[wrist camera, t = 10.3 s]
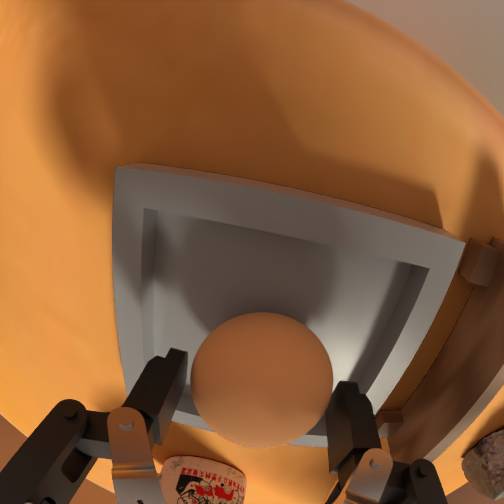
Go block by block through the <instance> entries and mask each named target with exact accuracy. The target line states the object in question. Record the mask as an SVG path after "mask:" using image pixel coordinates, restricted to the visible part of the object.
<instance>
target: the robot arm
mask: <svg viewBox="0 0 504 504" xmlns="http://www.w3.org/2000/svg"><path fill="white" fill-rule="evenodd" d="M187 367H188V352H187V351H183V350H179V349H176V348H172V347H171V348H170V349H169V351H168V353H167V355H166V357H165V358H164V357H161V356H155V357H154V358H152V359H151V360H150V361H148V362H147V364H146V366H145V368H144V369H143V372H142V373H141V374H140V376H139V379H138V380H137V381H136V383H135V385H134V387H133V388H132V390H131V392H130V394H129V396H128V397H127V399H126V401H125V403H124V404H123V405H122V406H121V407H120V408H117V409H114V410H113V411H112V412H106V413H105V412H96V411H89V410H86V408H85V407H84V405H83V404H82V403H80V402H79V401H77V400H73V399H66V400H63V401H60V402H59V403H58V404H57V405H56V406H55V407H54V408H53V409H52V410H51V412H50V413H49V414H48V415H47V416H46V417H45V419H44V420H43V421H42V422H41V423H40V424H39V426H38V427H37V428H36V429H35V430H34V432H33V433H32V434H31V435H30V436H29V437H28V439H27V440H26V441H25V442H24V444H23V445H22V446H21V447H20V448H19V450H18V451H17V452H16V453H15V455H14V456H13V457H12V458H11V460H10V461H9V462H8V463H7V465H6V466H5V467H4V468H3V470H2V471H1V472H0V504H69V502H70V501H71V499H72V498H73V496H74V494H75V493H76V491H77V490H78V488H79V487H80V485H81V484H82V482H83V481H84V479H85V478H86V476H87V474H88V473H89V471H90V470H91V468H92V467H93V465H94V464H95V462H96V461H97V459H98V458H105V459H112V465H113V469H112V480H113V485H114V490H115V495H116V500H117V504H166V503H165V499H164V496H163V493H162V490H161V486H160V483H159V479H158V476H157V472H156V469H155V465H154V461H153V457H152V453H151V452H152V449H153V447H154V444H155V443H156V444H159V445H162V443H163V441H164V438H165V436H166V433H167V431H168V428H169V425H170V423H171V420H172V418H173V415H174V413H175V410H176V407H177V405H178V402H179V400H180V397H181V395H182V392H183V390H184V387H185V384H186V379H187ZM325 418H326V430H327V442H328V457H329V473H338V480H337V481H336V482H335V484H334V485H333V487H332V489H331V490H330V492H329V494H328V495H327V497H326V498H325V500H324V502H323V503H322V504H448V503H447V500H446V497H445V494H444V491H443V488H442V485H441V482H440V480H439V477H438V474H437V471H436V469H435V467H434V465H433V464H432V463H431V462H430V461H429V460H427V459H417V460H415V461H414V462H413V463H411V464H407V463H402V462H398V461H394V460H392V457H391V456H390V454H389V453H388V452H386V451H385V450H383V449H382V447H381V442H380V438H379V433H378V429H377V424H376V421H375V416H374V414H373V408H372V404H371V401H370V400H369V399H368V397H367V396H366V394H360V392H359V387H358V384H357V382H352V381H341V380H340V381H339V382H338V384H337V386H336V387H335V389H334V391H333V393H332V395H331V399H330V402H329V405H328V407H327V409H326V411H325Z"/></svg>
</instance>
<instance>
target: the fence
mask: <svg viewBox="0 0 504 504" xmlns="http://www.w3.org/2000/svg"><path fill="white" fill-rule="evenodd" d="M458 273H459V274H460V275H461V276H462V277H463V278H465V279H466V280H467V281H468V282H470V283H474V284H475V285H474V288H473V290H472V292H471V295H470V297H469V299H468V301H467V303H466V305H465V307H464V309H463V311H462V313H461V315H460V317H459V319H458V321H457V323H456V325H455V327H454V329H453V331H452V333H451V334H450V336H449V338H448V340H447V342H446V343H445V345H444V347H443V349H442V350H441V352H440V354H439V355H438V357H437V359H436V360H435V362H434V363H433V365H432V367H431V368H430V370H429V371H428V373H427V374H426V376H425V377H424V379H423V380H422V382H421V383H420V385H419V386H418V387H417V389H416V390H415V392H414V393H413V394H412V396H411V397H410V399H409V400H408V401H407V403H406V404H405V405H404V407H403V408H402V409H401V410H399V411H385V410H381V411H380V412H379V414H378V415H377V416H376V418H375V421H376V424H377V429H378V433H379V438H387V440H388V444H389V448H390V453H391V457H392V460H394V461H398V462H402V463H407V464H411V463H413V462H414V461H415V460H417V459H427V460H429V461H430V462H431V463H432V462H433V461H434V460H435V459H436V458H437V457H439V456H440V455H441V454H442V453H443V452H444V451H445V450H446V449H447V448H448V447H449V446H450V445H451V444H452V443H453V442H454V441H455V440H456V439H457V438H458V437H459V436H460V435H461V434H462V433H463V432H464V431H465V430H466V429H467V428H468V427H469V426H470V425H471V424H472V423H473V421H474V420H475V419H476V418H477V417H478V416H479V415H480V413H481V412H482V411H483V410H484V409H485V408H486V406H487V405H488V404H489V403H490V401H491V400H492V399H493V398H494V396H495V395H496V394H497V392H498V391H499V390H500V389H501V387H502V386H503V384H504V241H502V240H499V239H497V238H494V237H493V238H492V241H491V244H490V245H488V244H485V243H483V242H480V241H477V240H475V239H472V238H470V241H469V244H468V247H467V250H466V253H465V256H464V258H463V261H462V264H461V266H460V269H459V271H458Z"/></svg>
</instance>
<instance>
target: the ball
mask: <svg viewBox="0 0 504 504" xmlns="http://www.w3.org/2000/svg"><path fill="white" fill-rule="evenodd" d="M190 387H191V394H192V398H193V401H194V404H195V407H196V409H197V411H198V413H199V414H200V416H201V418H202V419H203V420H204V421H205V423H206V424H207V425H208V426H209V427H210V428H211V429H212V430H213V431H214V432H215V433H217V434H218V435H219V436H221V437H222V438H224V439H226V440H228V441H230V442H232V443H235V444H237V445H240V446H244V447H249V448H273V447H278V446H282V445H285V444H288V443H291V442H293V441H295V440H297V439H298V438H300V437H302V436H303V435H305V434H306V433H307V432H308V431H310V430H311V429H312V428H313V427H314V426H315V425H316V424H317V423H318V421H319V420H320V419H321V417H322V416H323V414H324V412H325V411H326V409H327V407H328V405H329V402H330V399H331V395H332V390H333V369H332V364H331V361H330V358H329V355H328V353H327V351H326V349H325V347H324V345H323V344H322V342H321V341H320V340H319V338H318V337H317V336H316V335H315V334H314V333H313V332H312V331H311V330H310V329H309V328H307V327H306V326H305V325H303V324H302V323H300V322H298V321H296V320H295V319H293V318H290V317H287V316H284V315H281V314H276V313H268V312H256V313H249V314H244V315H240V316H237V317H235V318H233V319H230V320H228V321H226V322H224V323H223V324H221V325H220V326H219V327H217V328H216V329H215V330H213V331H212V332H211V333H210V334H209V335H208V336H207V337H206V339H205V340H204V341H203V342H202V344H201V346H200V347H199V349H198V351H197V353H196V355H195V357H194V360H193V364H192V368H191V375H190Z"/></svg>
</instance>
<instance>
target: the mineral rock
mask: <svg viewBox="0 0 504 504" xmlns="http://www.w3.org/2000/svg"><path fill="white" fill-rule="evenodd" d="M462 470H463V471H464V475H465V477H466V479H467V480H468V481H469V482H470V483H471V484H472V486H473V487H474V488H475V490H476V491H478V492H479V493H480V494H481V495H483V496H485V497H488V498H489V499H492V500H498V499H500V498H501V497H504V430H501V431H498V432H495V433H492V434H491V435H489V436H488V437H484V438H483V439H482V440H481V441H480V442H479V443H478V444H477V446H475V447H474V448H473V449H471V450H470V451H468V452H467V454H466V455H465V457H464V459H463V461H462Z"/></svg>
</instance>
